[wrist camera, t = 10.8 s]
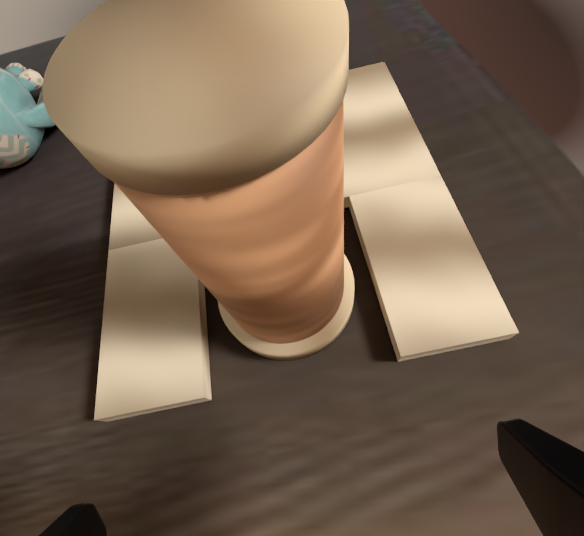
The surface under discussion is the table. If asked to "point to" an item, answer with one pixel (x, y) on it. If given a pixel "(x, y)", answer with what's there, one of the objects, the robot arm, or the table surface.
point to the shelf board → (375, 244)
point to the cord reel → (225, 148)
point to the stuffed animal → (20, 115)
